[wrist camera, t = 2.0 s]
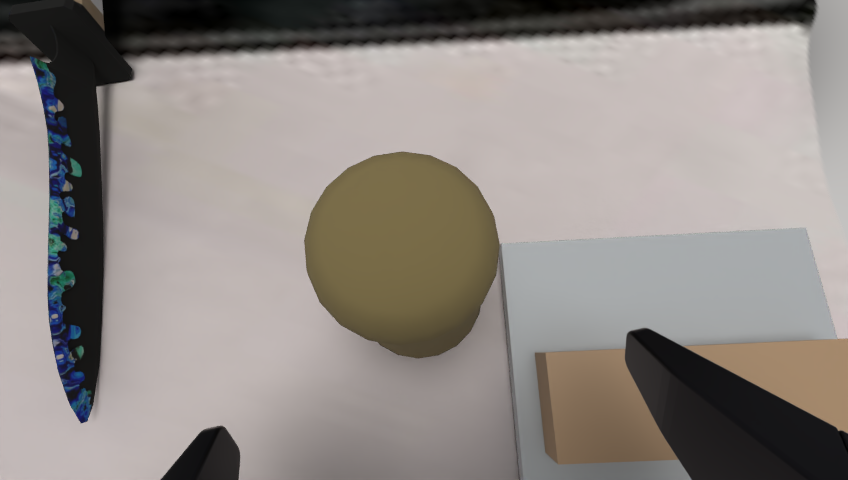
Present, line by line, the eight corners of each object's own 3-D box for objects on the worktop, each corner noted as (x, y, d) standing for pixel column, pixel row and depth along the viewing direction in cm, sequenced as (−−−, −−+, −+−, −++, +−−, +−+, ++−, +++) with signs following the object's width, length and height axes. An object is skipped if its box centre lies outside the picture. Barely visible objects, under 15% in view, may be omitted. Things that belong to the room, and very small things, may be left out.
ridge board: (881, 570, 17) (970, 614, 14) (529, 581, 17) (547, 627, 15) (788, 233, 21) (845, 214, 18) (498, 248, 21) (507, 231, 18)
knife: (86, -105, 26) (15, -188, 22) (134, -111, 26) (72, -196, 22) (76, 413, 22) (-17, 441, 17) (134, 407, 22) (56, 434, 17)
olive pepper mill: (507, 307, 20) (581, 258, 10) (403, 385, 20) (359, 423, 9) (433, 210, 22) (426, 72, 11) (333, 279, 21) (223, 203, 10)
